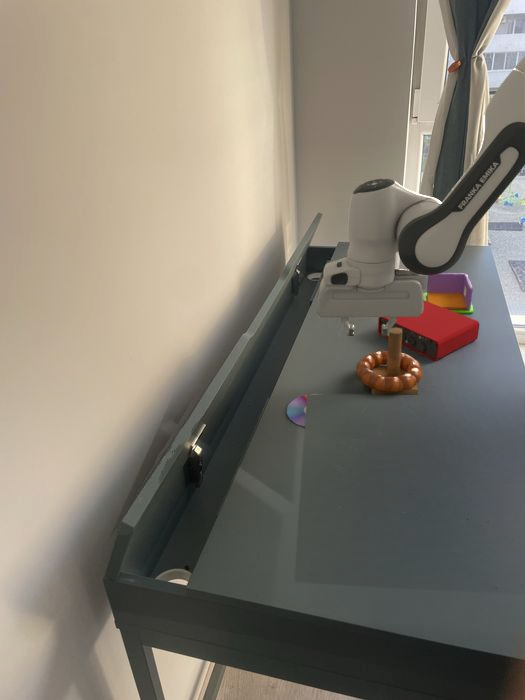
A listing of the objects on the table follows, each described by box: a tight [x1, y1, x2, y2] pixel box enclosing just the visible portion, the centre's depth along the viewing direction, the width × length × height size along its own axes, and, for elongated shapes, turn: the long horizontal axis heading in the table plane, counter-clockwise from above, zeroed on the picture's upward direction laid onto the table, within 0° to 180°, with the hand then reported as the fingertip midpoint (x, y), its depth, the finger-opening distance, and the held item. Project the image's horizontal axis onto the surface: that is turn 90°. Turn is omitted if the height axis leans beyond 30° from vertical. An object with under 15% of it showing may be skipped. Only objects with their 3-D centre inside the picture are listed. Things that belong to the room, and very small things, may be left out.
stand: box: [370, 328, 419, 396], centre depth 108 cm, size 9×9×12 cm
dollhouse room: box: [423, 272, 475, 315], centre depth 139 cm, size 12×12×7 cm
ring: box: [355, 350, 424, 392], centre depth 109 cm, size 13×13×3 cm
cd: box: [286, 393, 323, 428], centre depth 104 cm, size 11×11×1 cm
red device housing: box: [377, 300, 480, 362], centre depth 125 cm, size 18×14×5 cm
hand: (367, 334), depth 106 cm, fingers open, 6 cm apart
